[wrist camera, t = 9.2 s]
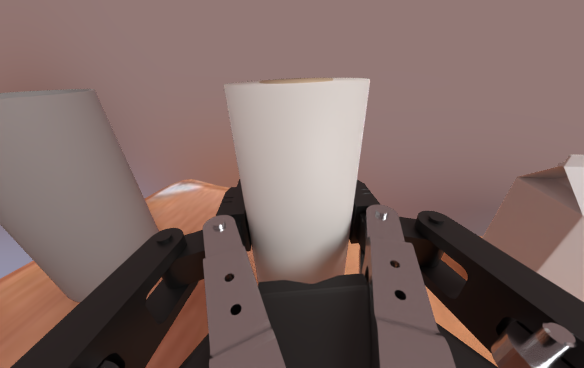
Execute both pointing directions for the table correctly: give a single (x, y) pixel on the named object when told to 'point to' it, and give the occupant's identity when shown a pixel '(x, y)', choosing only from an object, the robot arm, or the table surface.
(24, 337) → the table surface
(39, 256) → the cylinder vase
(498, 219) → the milk carton
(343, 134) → the paper roll
